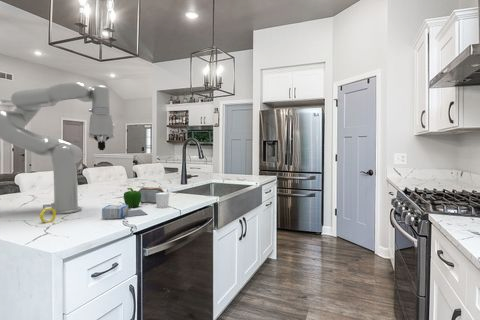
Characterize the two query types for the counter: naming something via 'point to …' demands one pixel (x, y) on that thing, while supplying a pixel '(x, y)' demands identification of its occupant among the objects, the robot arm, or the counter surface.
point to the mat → (134, 213)
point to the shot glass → (162, 199)
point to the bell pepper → (132, 198)
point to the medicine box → (114, 211)
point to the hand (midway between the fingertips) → (101, 150)
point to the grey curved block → (149, 194)
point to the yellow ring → (43, 213)
